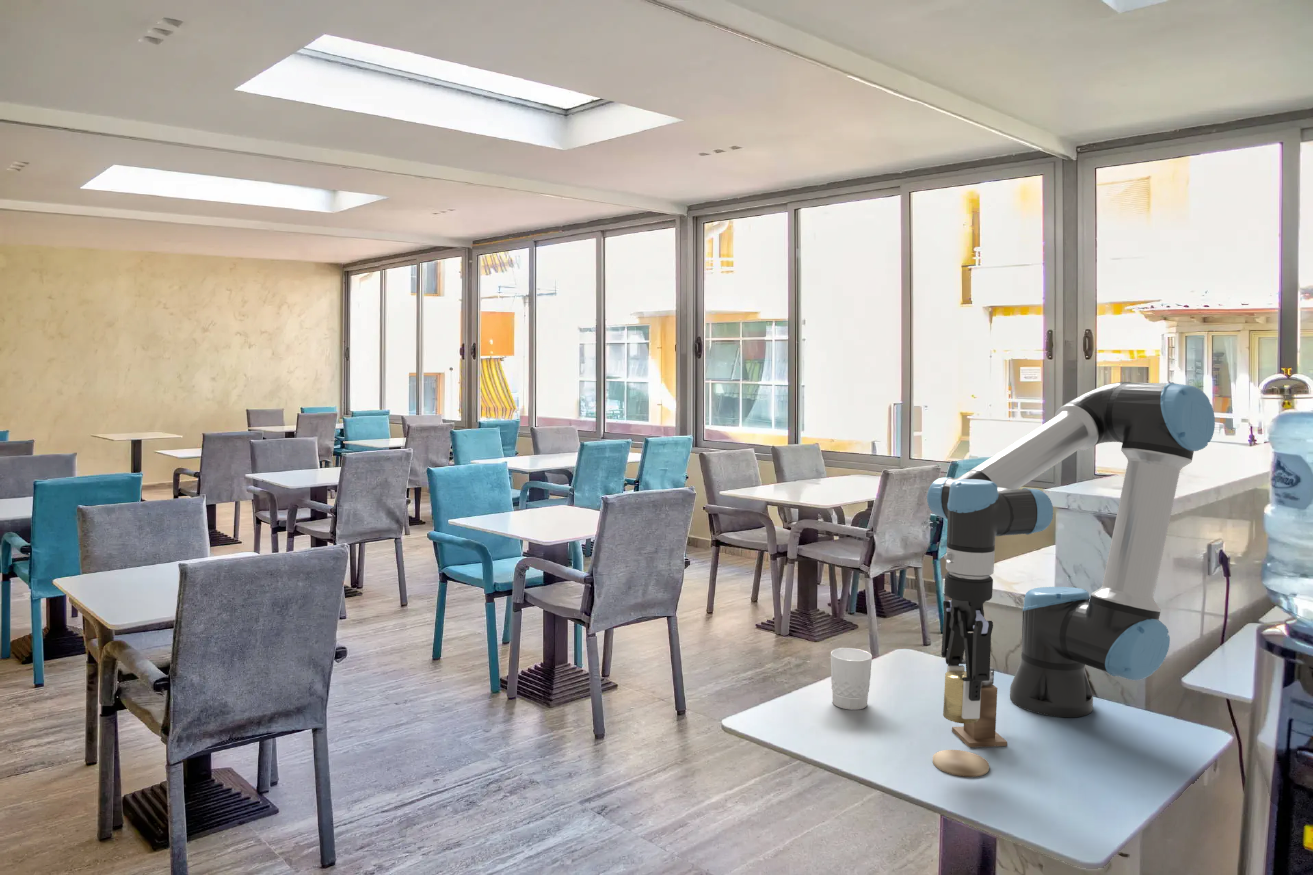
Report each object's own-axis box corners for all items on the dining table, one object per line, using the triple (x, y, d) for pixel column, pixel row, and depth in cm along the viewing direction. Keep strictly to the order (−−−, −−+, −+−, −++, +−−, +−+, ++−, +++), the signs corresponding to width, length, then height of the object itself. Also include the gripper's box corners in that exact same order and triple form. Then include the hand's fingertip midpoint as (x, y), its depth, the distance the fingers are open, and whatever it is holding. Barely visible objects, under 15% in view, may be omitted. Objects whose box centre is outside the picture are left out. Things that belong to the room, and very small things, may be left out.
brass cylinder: (969, 710, 157) (971, 670, 157) (984, 723, 152) (986, 682, 151) (937, 710, 157) (939, 670, 156) (951, 724, 151) (953, 682, 151)
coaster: (974, 752, 160) (974, 748, 160) (998, 775, 151) (999, 772, 151) (924, 754, 159) (924, 750, 159) (946, 778, 150) (946, 774, 150)
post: (988, 729, 170) (990, 676, 169) (1007, 746, 163) (1009, 690, 162) (951, 731, 169) (954, 677, 168) (968, 747, 162) (971, 692, 161)
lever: (994, 686, 163) (994, 673, 162) (970, 684, 164) (970, 670, 163) (988, 658, 177) (989, 646, 177) (966, 656, 179) (967, 644, 178)
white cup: (870, 713, 177) (872, 662, 176) (828, 709, 179) (830, 659, 178) (869, 698, 185) (871, 649, 184) (829, 694, 186) (831, 646, 186)
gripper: (924, 561, 161) (918, 691, 163) (972, 588, 143) (965, 733, 145) (965, 561, 162) (959, 690, 164) (1018, 587, 143) (1010, 732, 145)
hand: (962, 710), depth 154 cm, fingers closed on brass cylinder, 5 cm apart
